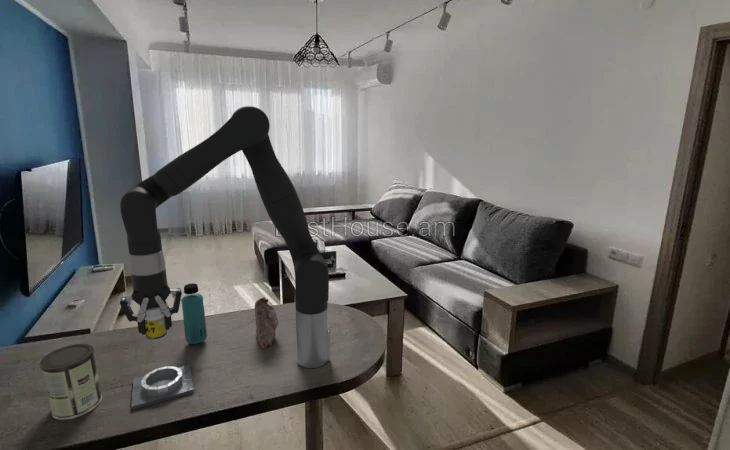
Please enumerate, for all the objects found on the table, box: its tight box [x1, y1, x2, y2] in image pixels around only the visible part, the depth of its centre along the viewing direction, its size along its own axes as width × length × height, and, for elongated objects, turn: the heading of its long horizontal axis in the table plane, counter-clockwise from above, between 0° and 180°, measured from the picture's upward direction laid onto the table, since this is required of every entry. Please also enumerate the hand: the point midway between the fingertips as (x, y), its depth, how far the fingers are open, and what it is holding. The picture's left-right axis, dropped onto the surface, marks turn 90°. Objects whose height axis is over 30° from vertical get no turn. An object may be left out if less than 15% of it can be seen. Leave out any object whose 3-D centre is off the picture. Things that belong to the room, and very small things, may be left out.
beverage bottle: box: [180, 283, 208, 345], centre depth 120 cm, size 6×7×20 cm
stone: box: [254, 296, 279, 349], centre depth 124 cm, size 15×8×10 cm
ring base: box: [130, 364, 195, 411], centre depth 102 cm, size 14×12×3 cm
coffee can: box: [39, 343, 103, 421], centre depth 93 cm, size 10×10×14 cm
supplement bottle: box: [143, 307, 168, 342], centre depth 97 cm, size 5×5×8 cm
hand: (156, 330), depth 98 cm, fingers closed on supplement bottle, 4 cm apart
